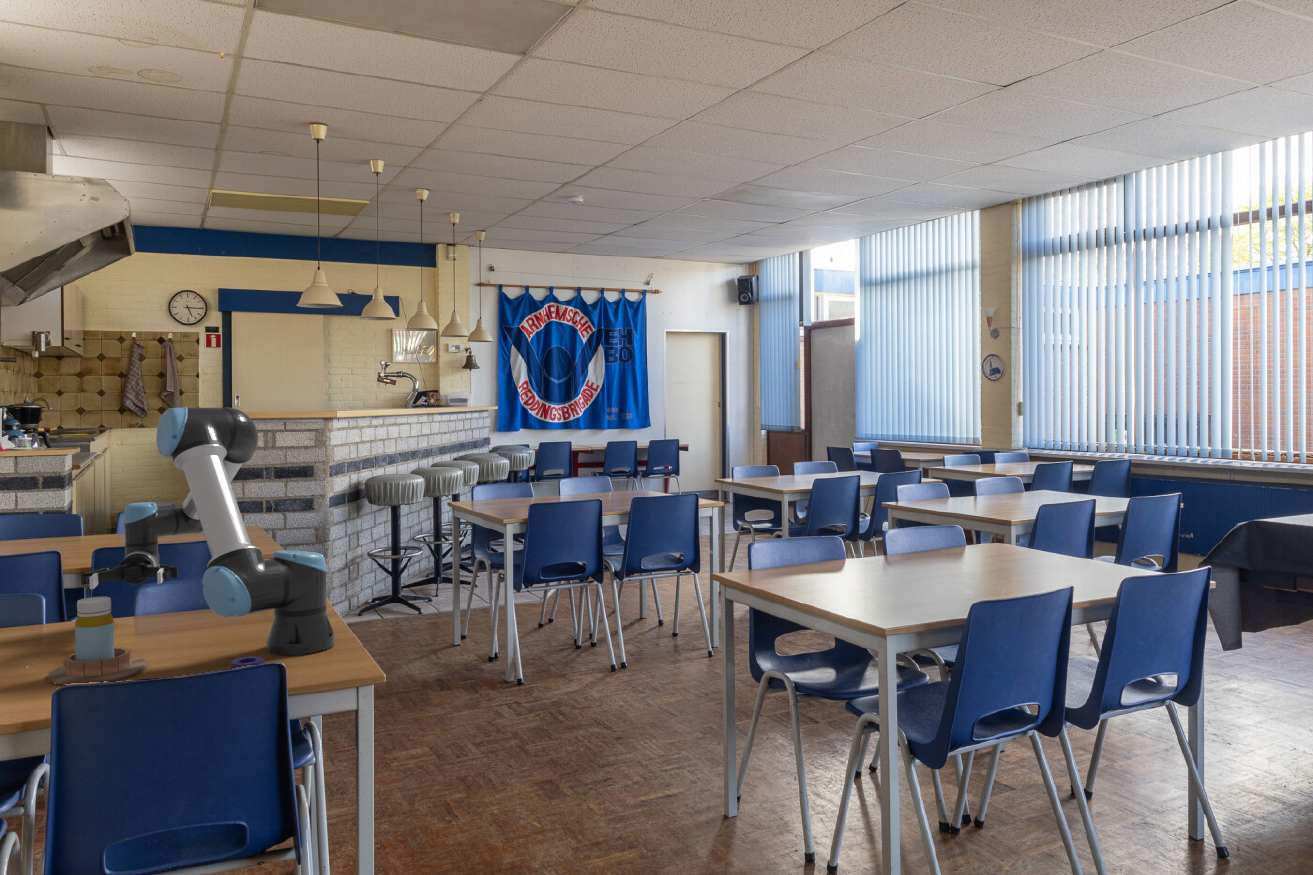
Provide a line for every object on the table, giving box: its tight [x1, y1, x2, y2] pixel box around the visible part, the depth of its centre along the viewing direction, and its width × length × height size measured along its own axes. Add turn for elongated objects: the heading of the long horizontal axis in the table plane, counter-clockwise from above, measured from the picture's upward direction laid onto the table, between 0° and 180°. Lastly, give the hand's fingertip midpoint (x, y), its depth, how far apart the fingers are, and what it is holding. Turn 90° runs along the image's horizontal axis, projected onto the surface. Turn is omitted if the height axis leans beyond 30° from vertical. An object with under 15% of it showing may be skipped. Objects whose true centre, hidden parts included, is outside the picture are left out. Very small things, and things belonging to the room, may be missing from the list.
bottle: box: [74, 596, 115, 661], centre depth 192 cm, size 7×7×15 cm
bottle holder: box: [47, 646, 147, 686], centre depth 193 cm, size 18×18×4 cm
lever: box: [230, 655, 264, 669], centre depth 189 cm, size 12×6×3 cm, turn 166°
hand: (125, 580), depth 207 cm, fingers open, 13 cm apart
